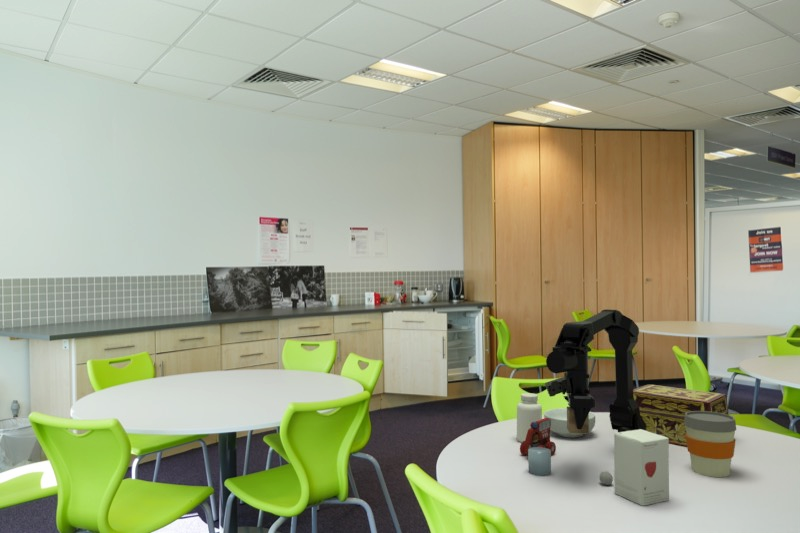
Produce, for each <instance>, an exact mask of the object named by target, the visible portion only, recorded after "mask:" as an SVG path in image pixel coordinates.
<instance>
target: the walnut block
mask: <svg viewBox="0 0 800 533" xmlns="http://www.w3.org/2000/svg"><path fill="white" fill-rule="evenodd" d="M566 408H567V429H568V431H569V433H578V434H583V435H589V434H590V431H589V414H588V416H587V418H586V420H585V422H584V425H583V427H582V429H577V426H576V420H575V415H574V410H573V409H572V408H571V407H570V406H566Z"/></svg>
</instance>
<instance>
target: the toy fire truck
mask: <svg viewBox="0 0 800 533" xmlns="http://www.w3.org/2000/svg"><path fill="white" fill-rule="evenodd" d="M530 427H531V428H530V429H528V432H527V435H526V439H525V441H523V442H520V445H519V452H520V454H521V455H523V456H528V449H529V448H532V447H543V448H547V449H550V450H551V457H552V456H554V455H555V453H556V450H557V446H556V443H555V441H551V430H550V427H551V419H550V418H544V417H543V418H542V419H541V420H539V421H536V422H532V423H531V425H530Z"/></svg>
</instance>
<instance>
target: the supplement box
mask: <svg viewBox="0 0 800 533" xmlns="http://www.w3.org/2000/svg"><path fill="white" fill-rule="evenodd" d="M613 434H614V435H613V436H614V439H613V440H614V442H613V443H614V450H613V452H614V455H613V456H614V464H613V465H614V473H613V474H614V477H613V481H614V494H616V495H618V496H620V497H622V498H625V499H627V500H629V501H631V502H633V503H635V504H637V505H640V506H641V507H642V506H643V507H644V506H650V505H653V504H657V503H661V502H666V501H667V502H668V501H670V478H669V477H670V463H669V462H670V461H669V459H670V456H669V455H670V453H669V445H670V444H669V438H667V437H664V436H661V435H658V434H654V433H651V432H648V431H645V430H642V429H639V430H632V431H625V432H618V431H617V432H614V433H613Z"/></svg>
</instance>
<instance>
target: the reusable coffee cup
mask: <svg viewBox="0 0 800 533" xmlns="http://www.w3.org/2000/svg"><path fill="white" fill-rule="evenodd" d="M684 425H685V426H686V432H687V433H686V434H685V436H686V442H687V447H686V449H687V452H688V453H689V457H690V463H691V469H692V471H693V472H694V473H696V474H700V475H702V476H706V477H710V478H711V477H712V478H725V477H729V475H730V474H731V465H732V458H734V455H735V448H736V447H735V446H736V438H735V433H736V431H737V424H736V418H735V416H733V415H727V414H723V413H718V412H710V411H690V412H686V413H685V418H684Z"/></svg>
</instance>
